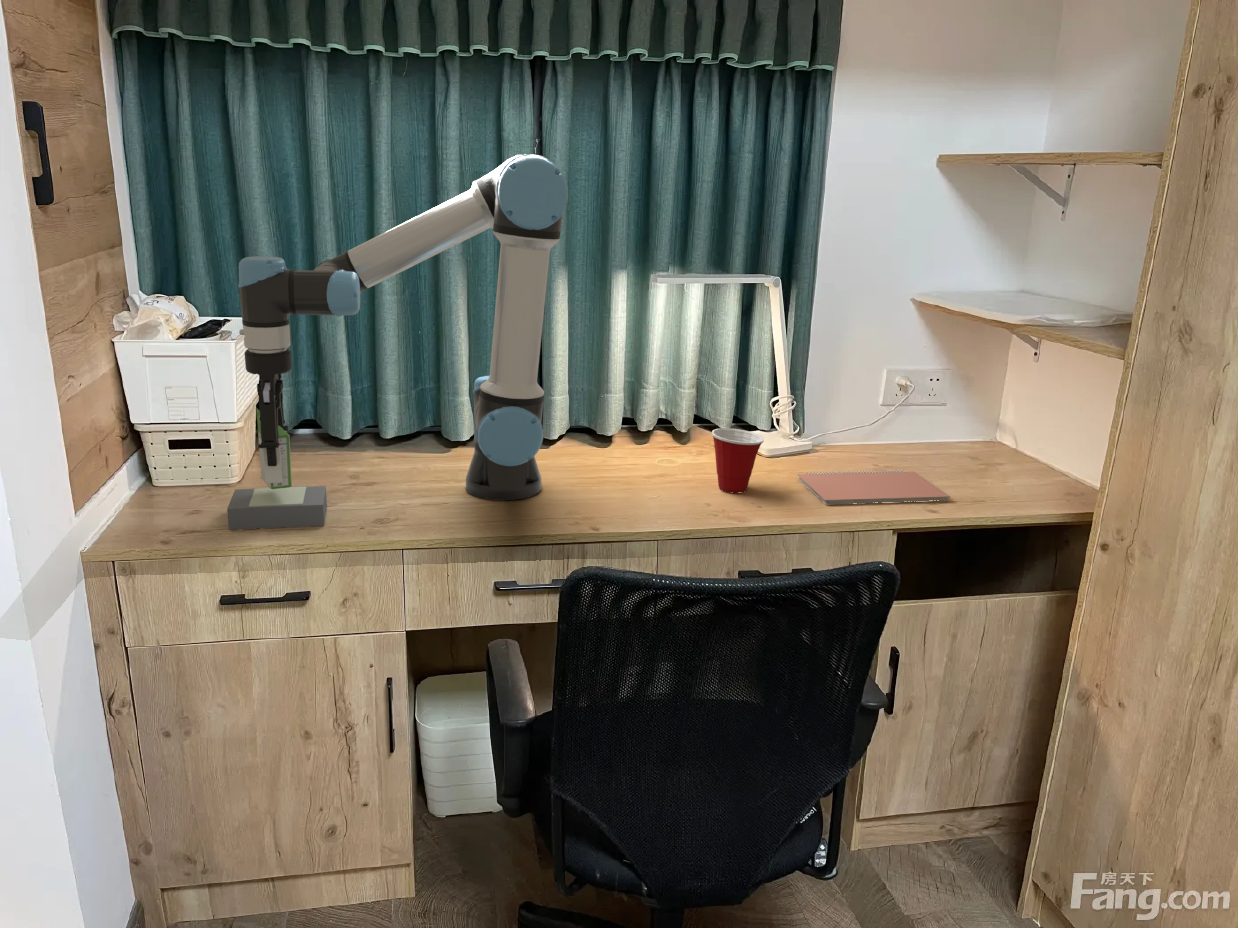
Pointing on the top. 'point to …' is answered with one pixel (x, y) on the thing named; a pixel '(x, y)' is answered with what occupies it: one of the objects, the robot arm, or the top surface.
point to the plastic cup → (735, 457)
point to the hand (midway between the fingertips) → (276, 474)
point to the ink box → (285, 457)
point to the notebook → (871, 487)
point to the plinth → (277, 507)
